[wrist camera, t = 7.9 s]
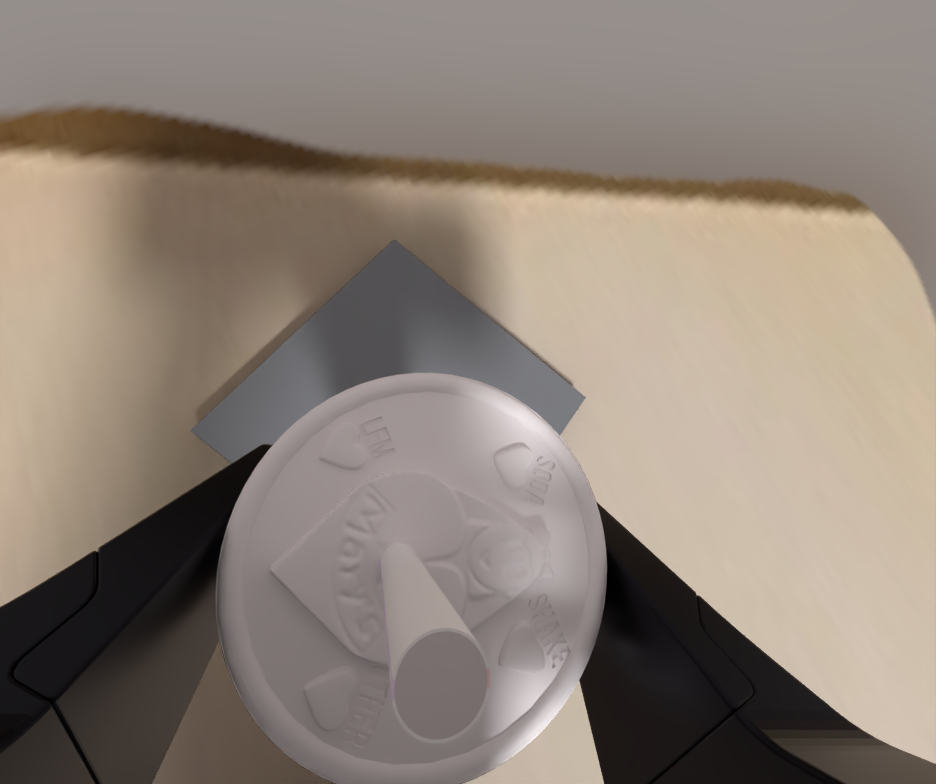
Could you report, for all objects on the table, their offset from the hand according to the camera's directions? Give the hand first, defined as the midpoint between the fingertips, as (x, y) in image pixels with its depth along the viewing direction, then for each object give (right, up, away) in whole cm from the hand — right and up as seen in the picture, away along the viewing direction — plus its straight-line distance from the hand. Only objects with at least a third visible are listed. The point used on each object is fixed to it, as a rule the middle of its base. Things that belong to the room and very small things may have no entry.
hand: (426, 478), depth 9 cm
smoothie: (-2, -3, +6) cm, 7 cm away
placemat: (-2, +1, +12) cm, 12 cm away
